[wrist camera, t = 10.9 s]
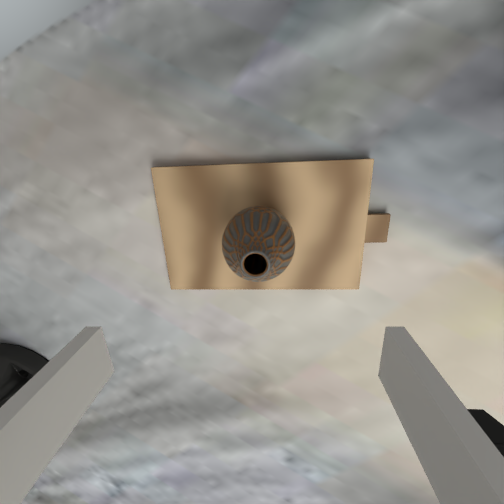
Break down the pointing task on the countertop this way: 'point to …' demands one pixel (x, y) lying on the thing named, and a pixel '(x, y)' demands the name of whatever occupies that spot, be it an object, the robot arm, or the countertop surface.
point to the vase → (258, 243)
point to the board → (280, 199)
